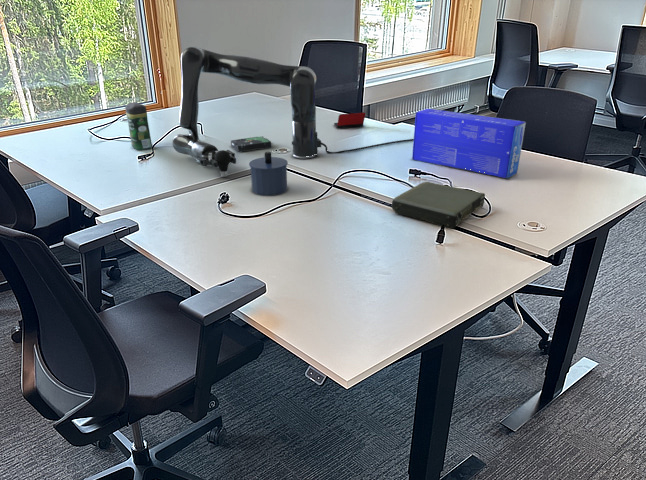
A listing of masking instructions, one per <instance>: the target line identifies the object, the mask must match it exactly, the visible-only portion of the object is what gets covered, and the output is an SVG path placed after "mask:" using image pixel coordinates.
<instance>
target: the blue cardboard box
mask: <svg viewBox="0 0 646 480" xmlns="http://www.w3.org/2000/svg"><path fill="white" fill-rule="evenodd" d="M526 124H527V121H523V120H516V119H509V118H501V117H495V116H494V117H493V116H486V115H478V114H472V113H471V114H470V113H463V112H455V111H448V110H441V109H434V108H424V109H422V110H418V111H416V112H415V117H414V129H413V139H414V141H412V154H411V155H412V156H411V159H412V160H413V161H418V162H422V163H427V164H431V165H438V166H441V167H447V168H452V169H455V170H456V169H457V170H462V171H467V172H473V173H478V174H482V175H489V176H494V177H498V178H502V179H503V178H504V179H510V178H511V177H513V176H515V175H516V174H518V171H519V165H520V159H521V154H522V153H521V152H522V148H523V143H524V136H525V130H526V129H525V128H526ZM465 168H466V169H465ZM470 169H471V170H470ZM479 171H480V172H479ZM484 172H485V173H484Z"/></svg>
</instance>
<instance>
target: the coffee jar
mask: <svg viewBox="0 0 646 480" xmlns="http://www.w3.org/2000/svg"><path fill="white" fill-rule="evenodd" d="M125 115H126V120H127V126H128V131H129V132H128V133H129V139H130V144H131V147H132V148H133V149H134V150H138V151H139V150H143V151H144V150H149V149H150V148H153V144H152V139H151V137H152V136H151V131H150V125H149V120H148V110H147V107H146V105H144V104H142V103H139V102H138V101H135V102H128V103H127V104H126V105H125Z"/></svg>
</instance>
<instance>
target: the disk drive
mask: <svg viewBox="0 0 646 480" xmlns="http://www.w3.org/2000/svg"><path fill="white" fill-rule="evenodd" d="M230 146H231V147H232V148H233V149H234V150H235V151H237V152H240V153H242V152H248V151H256V150H262V149H267V148H268V149H269V148H272V141H271V140H269V139H268V138H266V137H264V136H253V137H246V138H238V139H232V140H230Z"/></svg>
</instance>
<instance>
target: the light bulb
mask: <svg viewBox="0 0 646 480" xmlns="http://www.w3.org/2000/svg"><path fill="white" fill-rule="evenodd" d="M215 161H217V162H218V169H219V172H220V176H221V177H222V178H223V179H224V178H225V179H226V177H228V175H229V173H228V171H229V165H230V164H231V163H230V161H231V156H230V154H229V153H228V152H227V151H226V150H224V149H223V150H218V152H217V153H216V155H215Z"/></svg>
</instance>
